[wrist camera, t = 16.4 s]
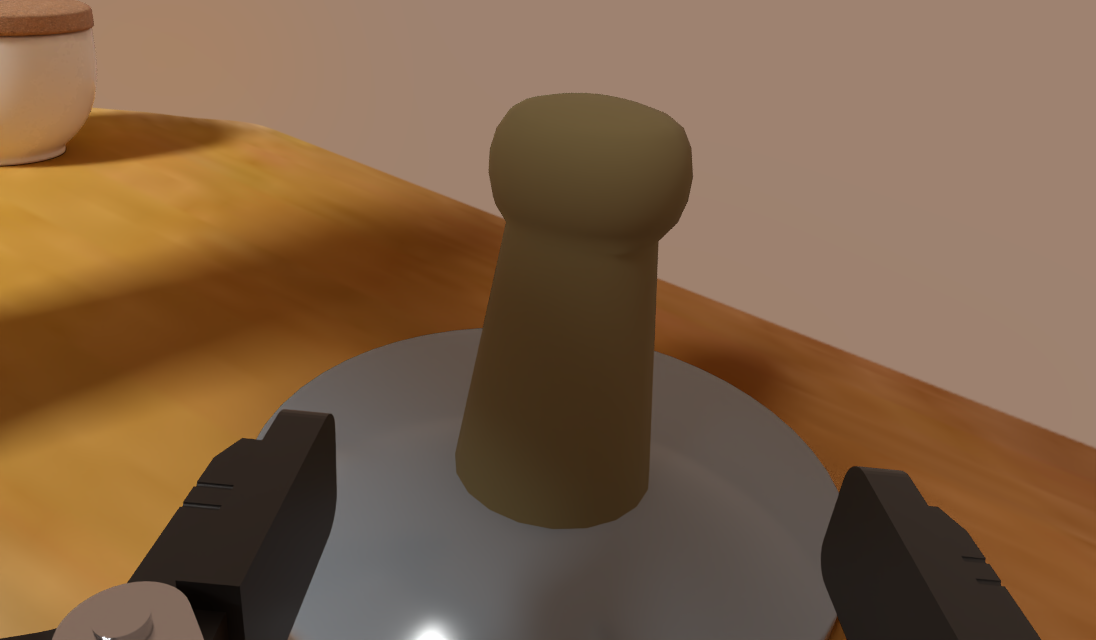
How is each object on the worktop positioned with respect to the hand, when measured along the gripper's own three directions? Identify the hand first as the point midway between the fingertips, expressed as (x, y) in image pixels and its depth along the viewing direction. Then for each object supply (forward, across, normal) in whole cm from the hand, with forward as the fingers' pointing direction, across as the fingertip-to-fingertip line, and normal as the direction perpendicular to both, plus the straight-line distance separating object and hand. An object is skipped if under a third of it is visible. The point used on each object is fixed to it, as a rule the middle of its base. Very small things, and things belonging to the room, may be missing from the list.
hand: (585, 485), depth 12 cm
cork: (+10, 0, +7) cm, 12 cm away
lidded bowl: (+39, +36, +8) cm, 54 cm away
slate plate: (+10, 0, +8) cm, 13 cm away
